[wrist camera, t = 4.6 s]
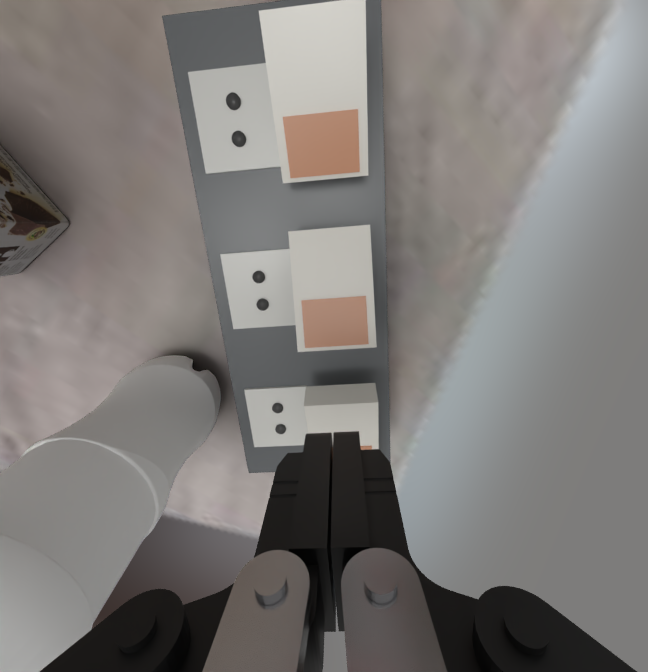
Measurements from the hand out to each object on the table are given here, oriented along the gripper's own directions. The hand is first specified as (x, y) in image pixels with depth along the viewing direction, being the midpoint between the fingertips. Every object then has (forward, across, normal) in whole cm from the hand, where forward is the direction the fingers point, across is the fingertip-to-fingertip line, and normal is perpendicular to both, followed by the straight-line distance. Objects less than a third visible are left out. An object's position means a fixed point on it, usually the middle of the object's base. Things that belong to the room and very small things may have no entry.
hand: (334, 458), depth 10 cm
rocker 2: (+10, 0, -3) cm, 10 cm away
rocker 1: (+10, 0, -11) cm, 15 cm away
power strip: (+16, +2, -3) cm, 17 cm away
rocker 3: (+10, 0, +6) cm, 11 cm away
